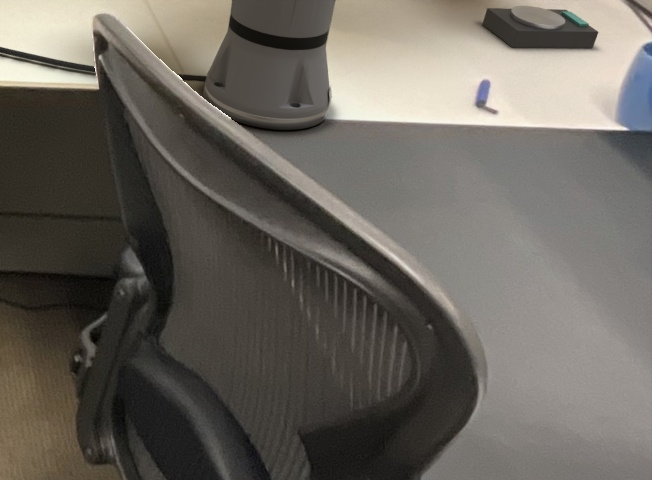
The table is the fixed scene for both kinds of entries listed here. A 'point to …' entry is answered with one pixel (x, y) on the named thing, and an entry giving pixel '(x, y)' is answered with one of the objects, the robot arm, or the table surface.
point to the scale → (539, 28)
